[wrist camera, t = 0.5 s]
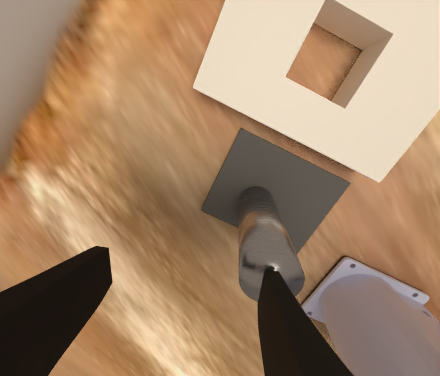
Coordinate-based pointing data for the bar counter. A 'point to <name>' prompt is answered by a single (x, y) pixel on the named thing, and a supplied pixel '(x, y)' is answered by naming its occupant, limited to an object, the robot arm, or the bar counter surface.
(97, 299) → the robot arm
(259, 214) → the peg
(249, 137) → the mat
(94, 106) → the bar counter surface
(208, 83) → the block
